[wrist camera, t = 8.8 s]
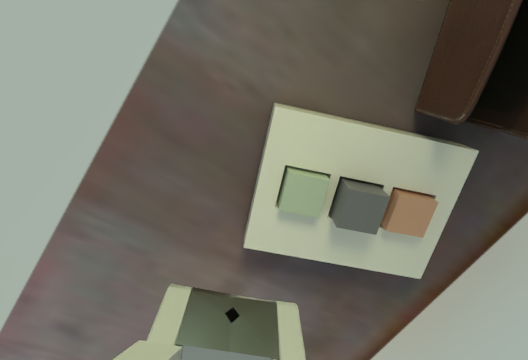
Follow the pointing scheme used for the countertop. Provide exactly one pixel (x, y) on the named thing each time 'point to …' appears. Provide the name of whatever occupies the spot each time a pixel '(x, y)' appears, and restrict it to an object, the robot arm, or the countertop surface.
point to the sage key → (302, 191)
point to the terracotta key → (408, 212)
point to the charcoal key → (359, 206)
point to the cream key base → (358, 169)
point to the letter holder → (480, 67)
